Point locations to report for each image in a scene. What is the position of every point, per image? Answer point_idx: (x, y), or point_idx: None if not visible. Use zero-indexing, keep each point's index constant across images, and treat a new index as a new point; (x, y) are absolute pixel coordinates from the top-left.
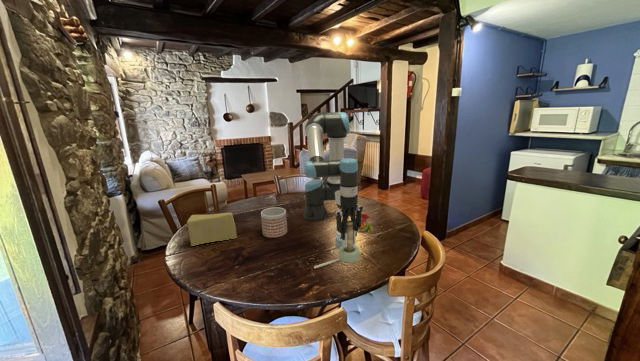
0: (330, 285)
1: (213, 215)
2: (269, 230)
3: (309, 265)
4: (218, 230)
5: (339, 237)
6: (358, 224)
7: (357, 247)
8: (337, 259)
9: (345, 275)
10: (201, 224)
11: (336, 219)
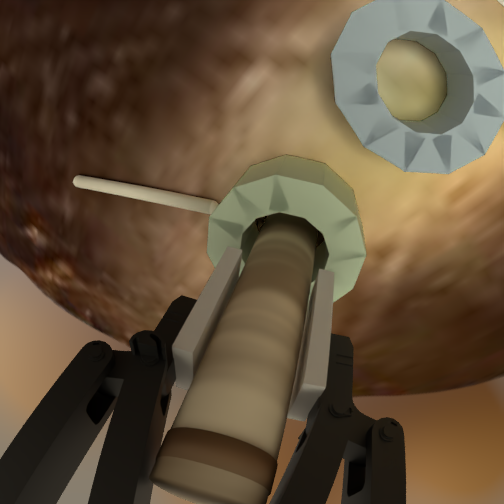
0: (102, 296)
1: None
2: None
3: (71, 140)
4: None
5: (381, 41)
6: (345, 481)
7: (352, 278)
8: (197, 210)
9: (171, 302)
10: None
11: (4, 460)
